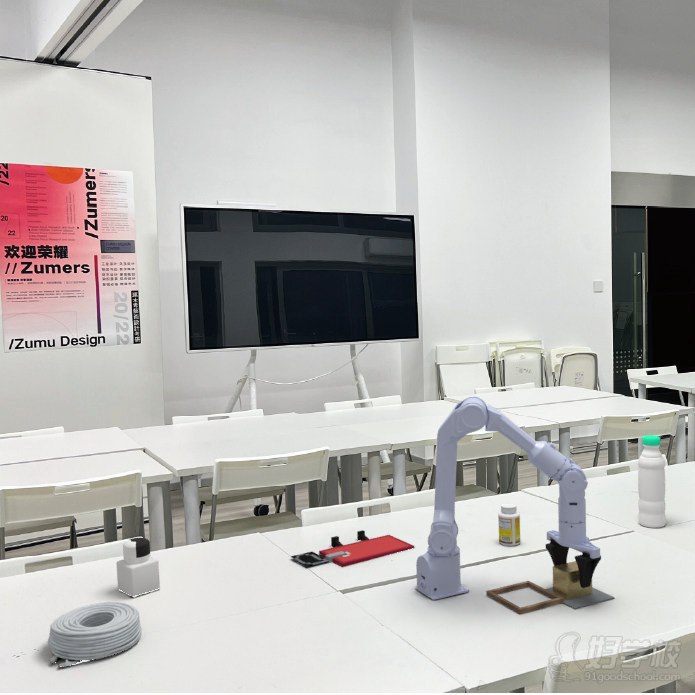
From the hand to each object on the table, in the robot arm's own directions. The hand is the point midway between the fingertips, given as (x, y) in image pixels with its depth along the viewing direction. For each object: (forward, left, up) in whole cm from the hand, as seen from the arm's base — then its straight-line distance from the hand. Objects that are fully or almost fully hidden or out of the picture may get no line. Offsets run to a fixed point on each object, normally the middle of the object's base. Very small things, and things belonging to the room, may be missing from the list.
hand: (573, 580), depth 166 cm
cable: (-96, +29, -4) cm, 100 cm away
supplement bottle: (+10, +34, -3) cm, 36 cm away
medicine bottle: (-84, +52, -3) cm, 99 cm away
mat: (0, -1, -3) cm, 3 cm away
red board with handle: (-30, +50, -4) cm, 58 cm away
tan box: (0, 0, -3) cm, 3 cm away
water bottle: (+52, +26, -3) cm, 59 cm away
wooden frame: (-10, +3, -3) cm, 11 cm away
